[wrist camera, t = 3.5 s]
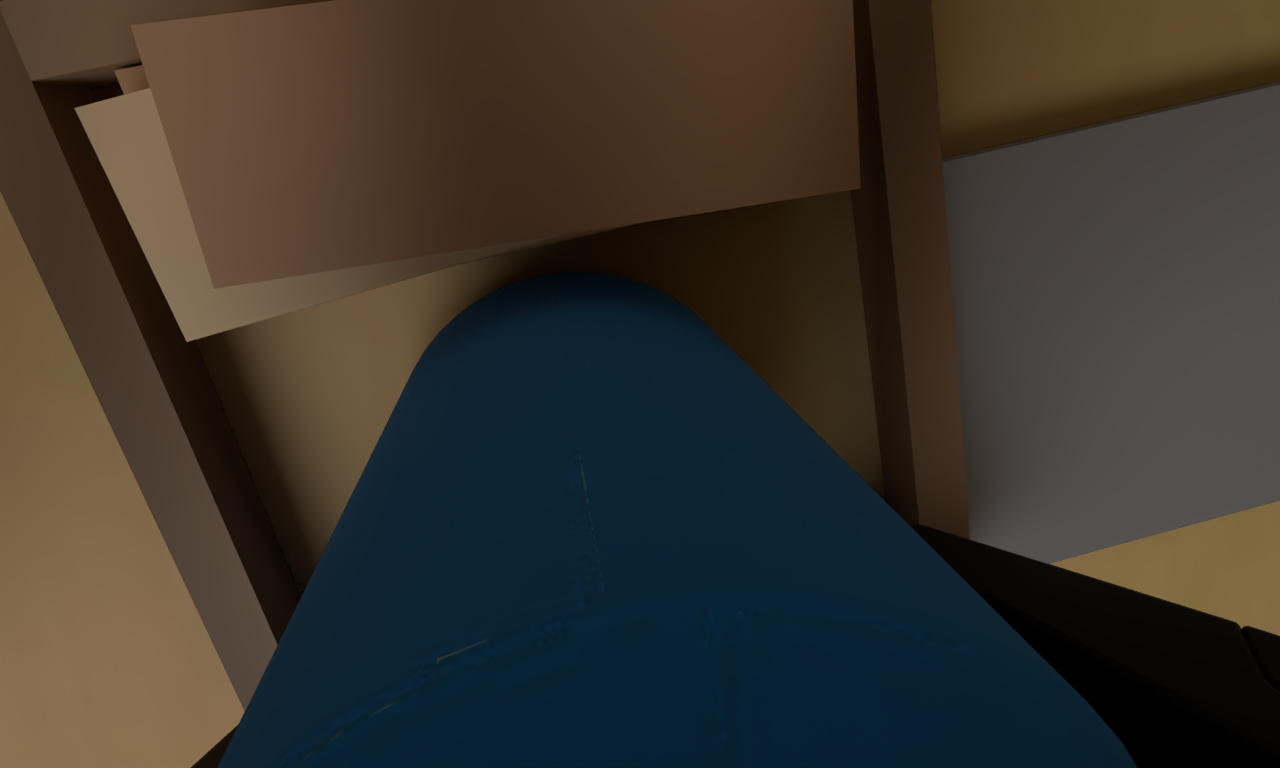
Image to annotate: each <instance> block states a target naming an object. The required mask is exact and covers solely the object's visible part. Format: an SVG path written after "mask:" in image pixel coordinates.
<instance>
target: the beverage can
mask: <svg viewBox="0 0 1280 768" xmlns="http://www.w3.org/2000/svg"><path fill="white" fill-rule="evenodd" d="M217 768H1137V766H1136V765H1135V763H1134V761H1133V759H1132V758H1131V756H1130V755H1129V753H1128V751H1127V750H1126V748H1125V746H1124V745H1123V743H1122V742H1121V741H1120V739H1119V738H1118V737H1117V736H1116V735H1115V734H1114V732H1113V731H1112V730H1111V729H1110V728H1109V727H1108V725H1107V724H1106V723H1105V722H1104V721H1103V720H1102V718H1101V717H1100V716H1099V715H1098V714H1097V713H1096V711H1095V710H1094V709H1093V708H1092V707H1091V706H1090V704H1089V703H1088V702H1087V701H1086V700H1085V699H1084V698H1083V697H1082V696H1081V695H1080V694H1079V693H1078V692H1077V691H1076V690H1075V689H1074V688H1073V687H1072V686H1071V685H1070V684H1069V683H1068V682H1067V681H1066V680H1065V679H1064V678H1063V677H1062V676H1061V675H1060V674H1059V673H1058V672H1057V671H1056V670H1055V669H1054V668H1053V667H1052V666H1051V665H1050V664H1049V663H1048V662H1047V661H1046V660H1045V659H1044V658H1043V657H1042V656H1041V655H1040V654H1039V653H1038V652H1037V651H1036V650H1034V649H1033V648H1032V647H1031V646H1030V645H1029V644H1028V643H1027V642H1026V641H1025V640H1024V639H1023V638H1022V637H1021V636H1020V635H1019V634H1018V633H1017V632H1016V631H1015V630H1014V629H1013V628H1012V627H1011V626H1010V625H1009V624H1008V623H1007V622H1006V621H1005V620H1004V619H1003V618H1002V617H1001V616H1000V615H999V614H998V613H997V612H996V611H995V610H994V609H993V608H992V607H991V606H990V605H989V604H988V603H987V602H986V601H985V600H984V599H983V598H982V597H981V596H980V595H979V594H978V593H977V592H976V591H975V590H974V589H973V588H972V587H971V586H970V585H969V584H968V583H967V582H966V581H965V580H964V579H963V578H962V577H961V576H960V575H959V574H958V573H957V572H956V571H955V570H954V569H953V568H952V567H951V566H950V565H949V564H948V563H947V562H946V561H945V560H944V559H943V558H942V557H941V556H940V555H939V554H938V553H937V552H936V551H935V550H934V549H933V548H932V547H931V546H930V545H929V544H928V543H927V542H926V541H925V540H924V539H923V538H922V537H921V536H920V535H919V534H918V533H917V532H916V531H915V530H914V529H912V528H911V527H910V526H909V525H908V524H907V523H906V522H905V521H904V520H903V519H902V518H901V517H900V516H899V515H898V514H897V513H896V512H895V511H894V510H893V509H892V508H891V507H890V506H889V505H888V504H887V503H886V502H885V501H884V500H883V499H882V498H881V497H880V496H879V495H878V494H877V493H876V492H875V491H874V490H873V489H872V488H871V487H870V486H869V485H868V484H867V483H866V482H865V481H864V480H863V479H862V478H861V477H860V476H859V475H858V474H857V473H856V472H855V471H854V470H853V469H852V468H851V467H850V466H849V465H848V464H847V463H846V462H845V461H844V460H843V459H842V458H841V457H840V456H839V455H838V454H837V453H836V452H835V451H834V450H833V449H832V448H831V447H830V446H829V445H828V444H827V443H826V442H825V441H824V440H823V439H822V438H821V437H820V436H819V435H818V434H817V433H816V432H815V431H814V430H813V429H812V428H811V427H810V426H809V425H808V424H807V423H806V422H805V421H804V420H803V419H802V418H801V417H800V416H799V415H798V414H797V413H796V412H795V411H794V410H793V409H792V408H790V407H789V406H788V405H787V404H786V403H785V402H784V401H783V400H782V399H781V398H780V397H779V396H778V395H777V394H776V393H775V392H774V391H773V390H772V389H771V388H770V387H769V386H768V385H767V384H766V383H765V382H764V381H763V380H762V379H761V378H760V377H759V376H758V375H757V374H756V373H755V372H754V371H753V370H752V369H751V368H750V367H749V366H748V365H747V364H746V363H745V362H744V361H743V360H742V359H741V358H740V357H739V356H738V355H737V354H736V353H735V352H734V351H733V350H732V349H731V348H730V347H729V346H728V345H727V344H726V343H725V342H724V341H723V340H722V339H721V338H720V337H719V336H718V335H717V334H716V333H715V332H714V331H713V330H712V329H711V328H710V327H709V326H708V325H707V324H706V323H705V322H704V321H703V320H702V319H700V318H699V317H698V316H697V315H696V314H694V313H693V312H692V311H691V310H690V309H689V308H687V307H686V306H685V305H683V304H682V303H680V302H679V301H677V300H675V299H674V298H672V297H671V296H669V295H668V294H666V293H664V292H662V291H659V290H657V289H655V288H653V287H651V286H648V285H646V284H644V283H641V282H637V281H634V280H631V279H628V278H624V277H621V276H615V275H609V274H603V273H594V272H565V273H555V274H546V275H542V276H538V277H534V278H529V279H525V280H522V281H519V282H516V283H514V284H511V285H508V286H506V287H503V288H500V289H498V290H496V291H494V292H493V293H491V294H489V295H487V296H485V297H483V298H481V299H479V300H478V301H476V302H475V303H473V304H472V305H471V306H469V307H468V308H467V309H465V310H464V311H462V312H461V313H460V314H458V315H457V316H456V317H455V318H454V319H453V320H452V321H451V322H450V323H449V324H447V325H446V326H445V327H444V328H443V329H442V330H441V331H440V332H439V333H438V335H437V336H436V337H435V338H434V340H433V341H432V342H431V343H430V345H429V346H428V347H427V348H426V350H425V351H424V353H423V354H422V356H421V358H420V359H419V361H418V363H417V365H416V366H415V368H414V370H413V371H412V373H411V375H410V377H409V379H408V382H407V384H406V386H405V388H404V390H403V392H402V394H401V396H400V398H399V400H398V402H397V404H396V406H395V408H394V410H393V412H392V414H391V416H390V418H389V420H388V422H387V424H386V426H385V428H384V430H383V432H382V434H381V436H380V438H379V440H378V442H377V444H376V447H375V449H374V451H373V453H372V455H371V457H370V459H369V461H368V463H367V465H366V467H365V469H364V471H363V473H362V475H361V477H360V479H359V481H358V483H357V485H356V487H355V489H354V491H353V493H352V495H351V497H350V499H349V501H348V503H347V505H346V507H345V509H344V512H343V514H342V516H341V518H340V520H339V522H338V524H337V526H336V528H335V530H334V532H333V534H332V536H331V538H330V540H329V542H328V544H327V546H326V548H325V550H324V552H323V554H322V556H321V558H320V560H319V562H318V564H317V566H316V568H315V570H314V572H313V574H312V576H311V579H310V581H309V583H308V585H307V587H306V589H305V591H304V593H303V595H302V597H301V599H300V601H299V603H298V605H297V607H296V609H295V611H294V613H293V615H292V617H291V619H290V621H289V623H288V625H287V627H286V629H285V631H284V633H283V635H282V637H281V639H280V641H279V644H278V646H277V648H276V650H275V652H274V654H273V656H272V658H271V660H270V662H269V664H268V666H267V668H266V670H265V672H264V674H263V676H262V678H261V680H260V682H259V684H258V686H257V688H256V690H255V692H254V694H253V696H252V698H251V700H250V702H249V704H248V706H247V709H246V711H245V713H244V715H243V717H242V719H241V721H240V723H239V725H238V727H237V729H236V731H235V733H234V735H233V737H232V739H231V741H230V743H229V745H228V747H227V749H226V751H225V753H224V755H223V757H222V759H221V761H220V763H219V765H218V767H217Z"/></svg>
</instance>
